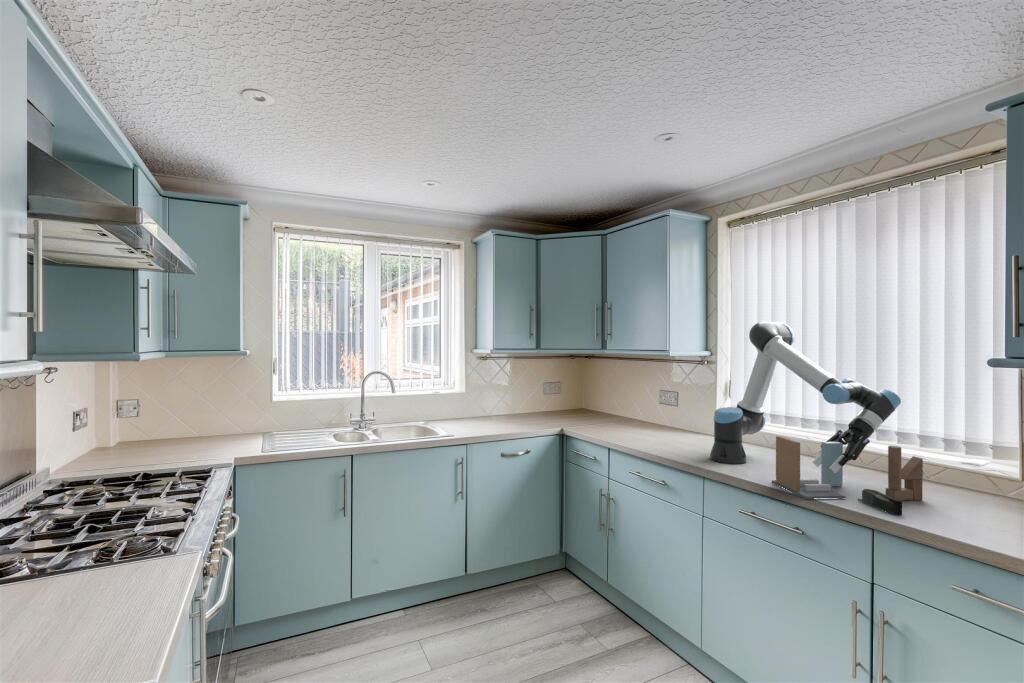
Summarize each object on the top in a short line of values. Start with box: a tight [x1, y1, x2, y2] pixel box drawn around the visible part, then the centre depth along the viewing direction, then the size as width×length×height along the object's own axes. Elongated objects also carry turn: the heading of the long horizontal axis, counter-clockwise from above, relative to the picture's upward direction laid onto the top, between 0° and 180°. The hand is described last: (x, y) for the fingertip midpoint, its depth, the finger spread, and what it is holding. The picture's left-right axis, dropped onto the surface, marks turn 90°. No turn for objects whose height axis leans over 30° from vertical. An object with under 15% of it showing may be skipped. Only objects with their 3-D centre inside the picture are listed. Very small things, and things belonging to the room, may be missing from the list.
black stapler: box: [857, 488, 903, 516], centre depth 159 cm, size 5×3×15 cm
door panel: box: [820, 441, 844, 486], centre depth 184 cm, size 3×6×16 cm, turn 93°
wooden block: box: [885, 445, 924, 502], centre depth 168 cm, size 4×11×18 cm, turn 97°
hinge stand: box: [771, 435, 847, 500], centre depth 177 cm, size 20×14×18 cm
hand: (823, 467), depth 184 cm, fingers open, 9 cm apart
